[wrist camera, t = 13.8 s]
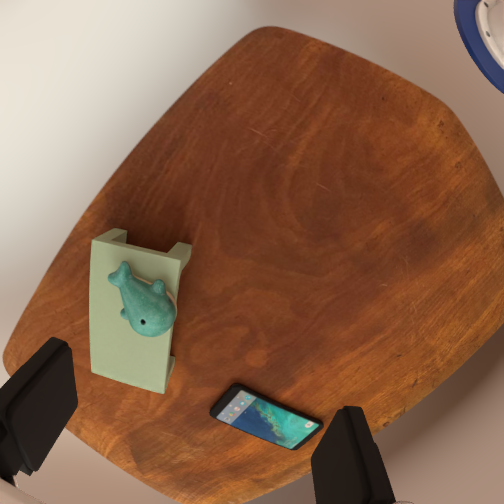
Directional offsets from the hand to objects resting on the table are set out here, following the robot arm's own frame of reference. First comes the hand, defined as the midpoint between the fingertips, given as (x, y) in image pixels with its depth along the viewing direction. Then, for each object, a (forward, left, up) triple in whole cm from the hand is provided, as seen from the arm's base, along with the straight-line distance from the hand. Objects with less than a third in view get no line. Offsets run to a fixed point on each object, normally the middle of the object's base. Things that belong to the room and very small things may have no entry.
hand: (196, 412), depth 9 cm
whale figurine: (+5, -7, -19) cm, 21 cm away
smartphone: (+23, +9, -24) cm, 35 cm away
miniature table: (+9, -9, -24) cm, 28 cm away
